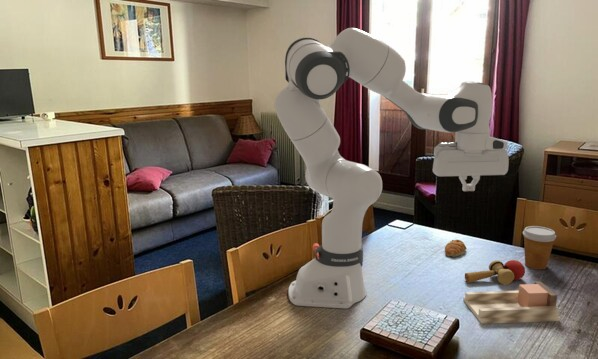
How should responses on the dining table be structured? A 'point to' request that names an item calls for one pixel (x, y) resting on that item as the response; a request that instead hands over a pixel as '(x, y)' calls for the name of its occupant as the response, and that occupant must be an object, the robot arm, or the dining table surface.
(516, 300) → the channel
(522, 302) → the salmon pink cube
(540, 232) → the disposable coffee cup
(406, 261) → the dining table surface
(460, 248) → the pastry
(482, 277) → the kendama
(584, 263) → the dining table surface
